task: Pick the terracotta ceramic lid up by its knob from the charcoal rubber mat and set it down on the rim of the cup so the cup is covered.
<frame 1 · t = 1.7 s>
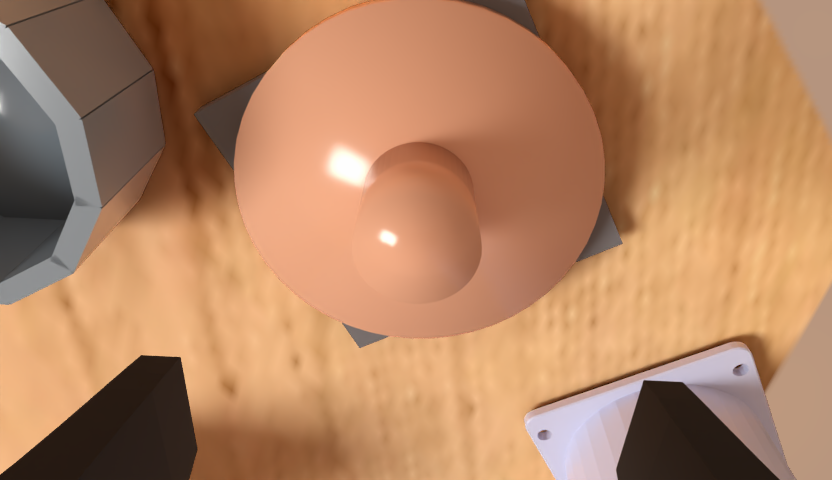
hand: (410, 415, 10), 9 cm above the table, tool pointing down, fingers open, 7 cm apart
cup: (15, 100, 17), on the table
lid: (418, 181, 18), point 1 cm above the table, touching mat
mat: (419, 173, 18), on the table
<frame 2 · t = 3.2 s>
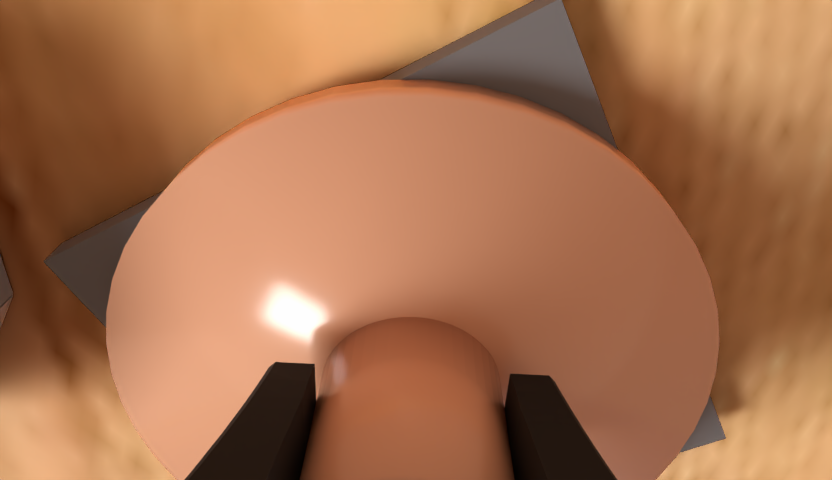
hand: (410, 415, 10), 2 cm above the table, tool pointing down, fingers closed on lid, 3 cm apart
lid: (411, 356, 11), point 1 cm above the table, touching gripper, mat
mat: (412, 335, 12), on the table
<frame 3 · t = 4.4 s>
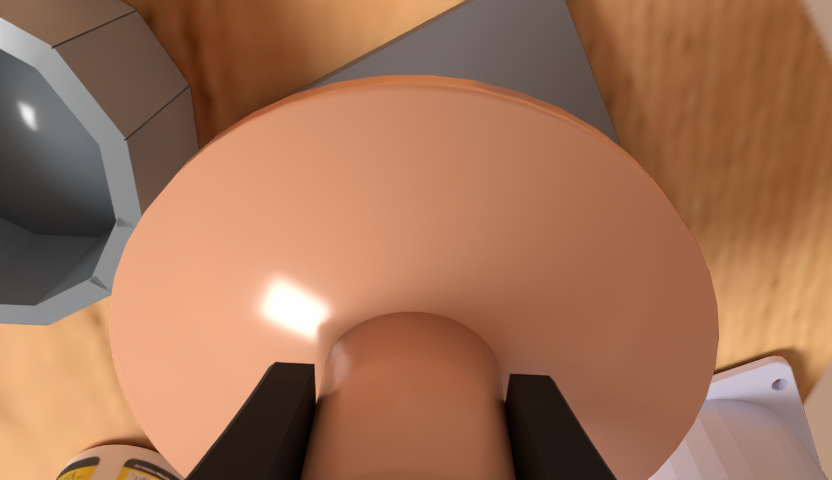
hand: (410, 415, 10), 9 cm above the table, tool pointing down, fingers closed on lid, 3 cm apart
cup: (49, 117, 17), on the table
lid: (412, 351, 11), point 8 cm above the table, touching gripper
mat: (456, 188, 18), on the table
when the fingers open (7 cm above the table, at t = 5.8 s): lid stays where it is, resting on cup.
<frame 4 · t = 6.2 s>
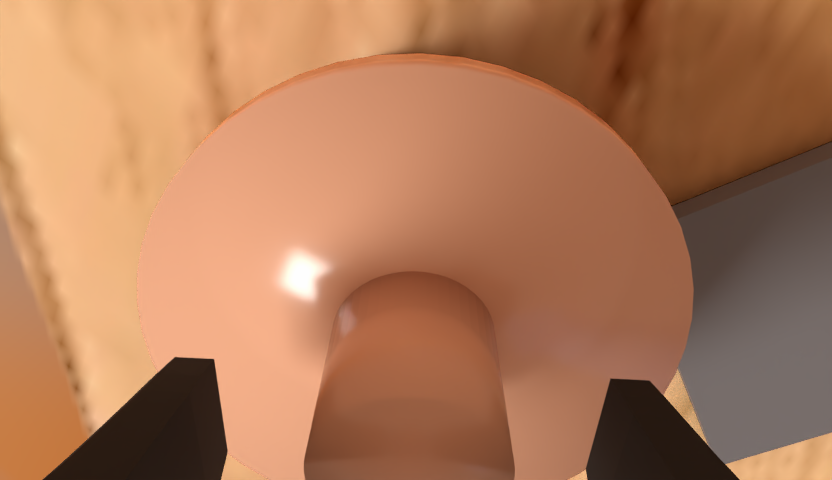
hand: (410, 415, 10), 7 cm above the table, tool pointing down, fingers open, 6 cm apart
lid: (414, 313, 12), point 4 cm above the table, touching cup
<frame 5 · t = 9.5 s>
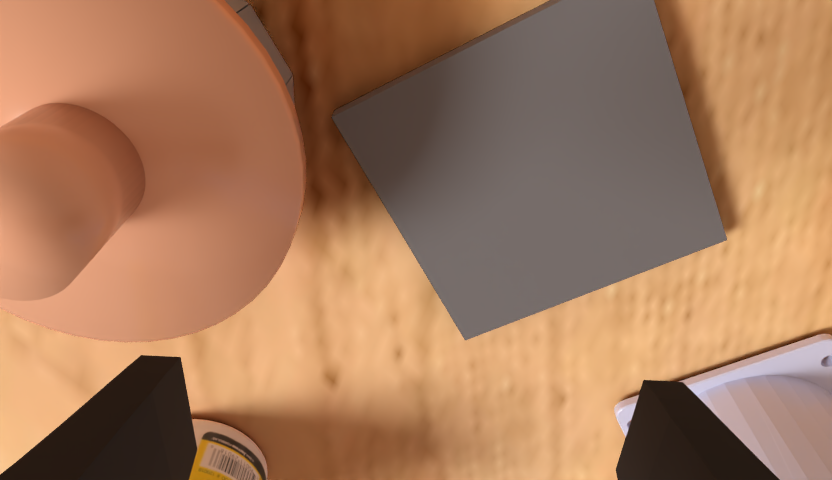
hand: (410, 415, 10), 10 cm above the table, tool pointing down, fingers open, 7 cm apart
supplement bottle: (207, 456, 26), on the table
cup: (157, 103, 18), on the table
lid: (94, 154, 15), point 4 cm above the table, touching cup
mat: (535, 173, 19), on the table
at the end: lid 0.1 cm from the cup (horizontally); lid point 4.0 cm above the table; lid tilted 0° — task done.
